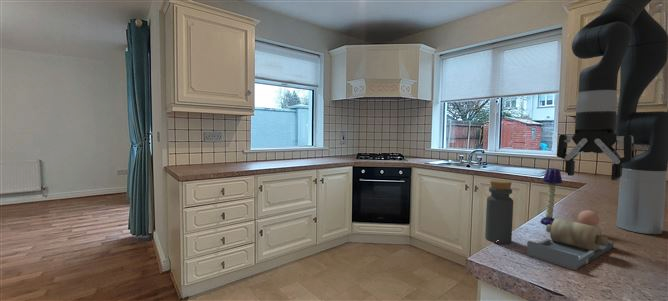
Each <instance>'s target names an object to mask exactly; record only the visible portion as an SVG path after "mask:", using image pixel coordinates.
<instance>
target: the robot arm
mask: <svg viewBox="0 0 668 301" xmlns="http://www.w3.org/2000/svg"><path fill="white" fill-rule="evenodd" d="M652 1H653V0H610V2H609V3H608V4H606V7H604V9H603V10H602V11H601V13H600V15H598V16H597V17H595V18H594V19H592V20H591V21H590V22H588V23H587V24H585V25H584V26H583V27H581V28H580V29H579V30H578V32H577V33H576V34H575V36H574V38H573V40H572V43H571V52H572V54H573V55H574V56H575V57H576V58H579V59H581V60H582V59H584V60H586V59H587V60H588V59H592V58H593V59H594V58H599V57H601V59H600V60H599V61H598V62H597V63H596V64H594V65H591V66H589V67H585V68H584V69H582V70H580V73H579V79H578V91H577V92H578V94H577V99H576V105H575V121H574V122H575V124H574V133H573V135H569V134H560V135H559V136H558V141H557V142H558V143H557V151H556V157H557V158H561V159H562V160H563V159H564V161H565V163H564V164H565V167H564V171H565V174H567V176H570V177H572V176H574V175H575V168H576V167H575V166H576V165H575V164H576V160H575V158H577V157H578V156H579V155H581V153H595V154H603V153H604V154H605V155H606V156H607V158H609V159H610V160H611V161H612V162H613V164H611V175H610V176H611V177H610V178H611V181H617V180H619V186H618V201H617V204H618V205H617V216H616V227H617V228H620V229H622V230H625V231H629V232H633V233H634V232H635V233H640V234H645V235H646V234H648V235H662V233H663V226H664V217H665V216H664V215H665V202H666V191H667V190H666V188H667V177H668V176H667V175H668V111H665V110H663V111H662V110H661V111H659V110H658V111H637V108H638V105H639V100H640V98H641V97H642V95H643V93H644V91H645V90H646V89H647V88H648V86H649V85H650V84H651V83H652V82H653V80H655V78H656V77H657V76H658V75H659V74H660V72H661V71H662V70H663V68H664V67H665V65H666V64H667V61H668V33H667V31H666V29H665V28H664V27H663V26H662V25H661V24H660V23H659V22H658V21H657V20H655V18H654V17H653V16H651V14H649V12H648V10H646V6H648V4H650V2H652ZM619 72H620V80H619V83H620V86H619V97H618V92H617V91H618V78H619V76H618V75H619ZM571 141H573V143H574V144H575V146H574V147H573V148H572V149H571V150H570V152H568V153H567V151H568V150H567V149H568V144H569V143H571ZM617 141H618V143H619V144H620V145H621V146H623V157H621V156H620V155H619V153H618V152H617V150H616V148H614V146H613V145H614V144H615V143H617ZM637 145H638V146H641V145H642V146H648V149H647V150H645V151H644V152H642V153H639V154H635V146H637Z"/></svg>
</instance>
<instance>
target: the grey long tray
mask: <svg viewBox="0 0 668 301" xmlns="http://www.w3.org/2000/svg"><path fill="white" fill-rule="evenodd" d="M614 244H615V243H614V242H610V241H608V243H607V246H602V245H600V247H599V249H598V250H597V251H595V252H594V251H592V250H590V251H589V250H585V249H581V248H577V247H574V246H570V245H566V244H562V243H558V242H555V241H552V239H551V238H550V239H549V238H545V239H542V240H540V241H539V242H534V241H531V240H528V241H527V244H526V245H527V246H526V256H528V257H532V258H534V259H537V260H538V259H539V260H541V261H545V262H547V263H551V264H553V265H554V264H555V265H556V266H560V267H563V268H567V269H570V270H573V271H578V270H579V269H581V268H582V267H584V266H586V265H587V264H589V263H590V262H592V261H593V260H595V259H597V258H598V257H600V256H601V255H603V254H605V253H606V252H608V251H610V250H611V249H612V248H614Z"/></svg>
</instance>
